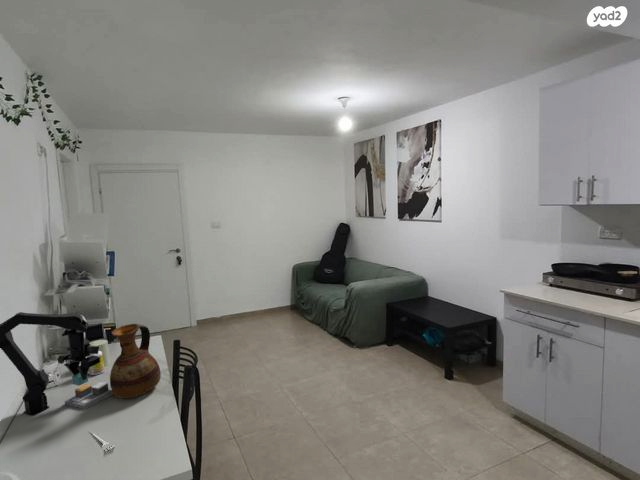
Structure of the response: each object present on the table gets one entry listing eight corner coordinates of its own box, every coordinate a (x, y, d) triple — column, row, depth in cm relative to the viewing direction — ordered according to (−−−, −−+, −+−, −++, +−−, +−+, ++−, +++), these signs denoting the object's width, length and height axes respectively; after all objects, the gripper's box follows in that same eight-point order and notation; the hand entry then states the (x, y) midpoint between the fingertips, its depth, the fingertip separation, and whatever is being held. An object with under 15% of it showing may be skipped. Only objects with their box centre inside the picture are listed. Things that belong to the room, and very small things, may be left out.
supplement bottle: (107, 369, 192) (104, 345, 191) (98, 375, 186) (95, 350, 184) (95, 369, 193) (92, 345, 192) (85, 375, 186) (82, 350, 185)
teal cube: (79, 385, 159) (78, 377, 159) (72, 384, 161) (71, 376, 161) (88, 381, 163) (87, 373, 163) (81, 380, 165) (81, 372, 164)
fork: (94, 430, 141) (93, 426, 141) (118, 450, 128) (117, 444, 128) (84, 435, 138) (84, 430, 138) (107, 455, 126) (107, 450, 125)
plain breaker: (99, 395, 162) (98, 388, 161) (92, 394, 163) (91, 386, 163) (108, 390, 166) (107, 383, 166) (102, 389, 167) (101, 381, 167)
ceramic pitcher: (100, 399, 162) (92, 331, 159) (136, 377, 181) (129, 316, 178) (138, 404, 156) (130, 334, 153) (171, 381, 175) (164, 318, 172)
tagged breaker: (82, 398, 160) (81, 390, 160) (75, 396, 162) (74, 389, 162) (92, 393, 164) (91, 385, 164) (85, 391, 166) (84, 384, 166)
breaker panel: (84, 409, 155) (84, 404, 155) (64, 404, 160) (64, 399, 159) (112, 393, 167) (112, 388, 167) (93, 389, 172) (93, 385, 171)
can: (91, 362, 202) (88, 341, 201) (110, 359, 206) (108, 337, 204) (88, 369, 194) (86, 346, 192) (109, 365, 197) (106, 342, 196)
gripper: (109, 338, 164) (113, 373, 166) (80, 334, 171) (84, 368, 173) (85, 348, 154) (89, 385, 156) (54, 343, 161) (59, 379, 163)
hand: (81, 378), depth 162 cm, fingers closed on teal cube, 4 cm apart
